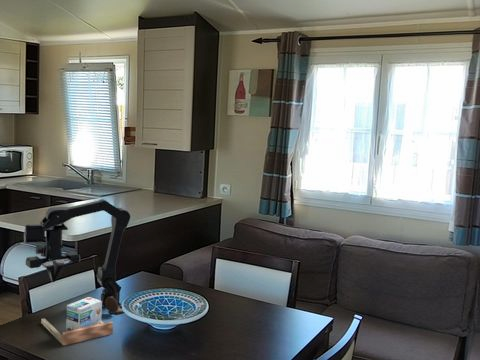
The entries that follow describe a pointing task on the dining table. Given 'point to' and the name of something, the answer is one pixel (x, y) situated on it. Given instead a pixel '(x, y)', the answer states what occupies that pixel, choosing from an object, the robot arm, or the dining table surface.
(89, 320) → the light bulb box
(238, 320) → the dining table surface
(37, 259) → the robot arm
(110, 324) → the frame
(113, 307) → the dark brown rounded lump
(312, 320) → the dining table surface
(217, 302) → the dining table surface
